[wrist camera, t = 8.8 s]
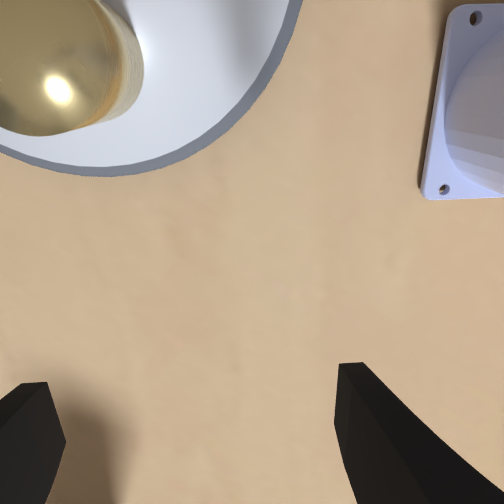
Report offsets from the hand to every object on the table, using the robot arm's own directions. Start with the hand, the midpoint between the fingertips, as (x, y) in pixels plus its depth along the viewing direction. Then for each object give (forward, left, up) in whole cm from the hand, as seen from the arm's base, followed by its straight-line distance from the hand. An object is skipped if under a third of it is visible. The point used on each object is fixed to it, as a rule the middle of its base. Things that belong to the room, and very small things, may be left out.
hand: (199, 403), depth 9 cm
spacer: (+4, -8, -8) cm, 12 cm away
